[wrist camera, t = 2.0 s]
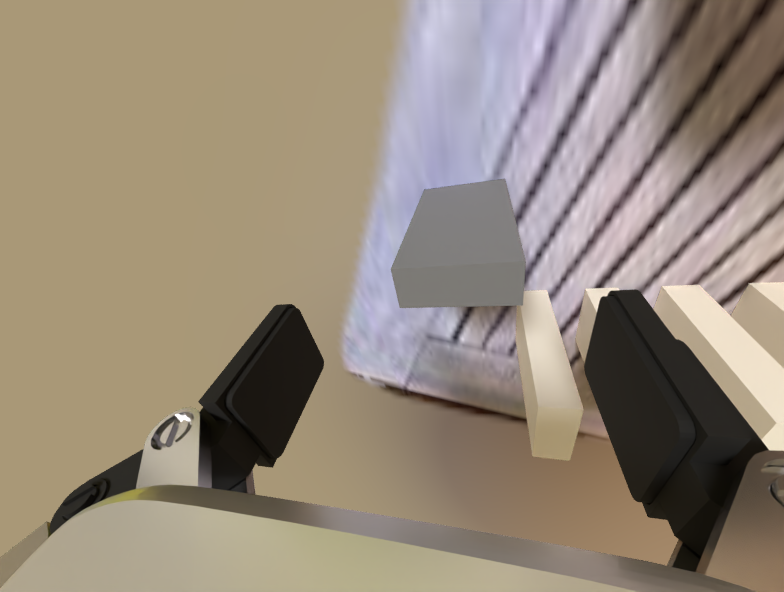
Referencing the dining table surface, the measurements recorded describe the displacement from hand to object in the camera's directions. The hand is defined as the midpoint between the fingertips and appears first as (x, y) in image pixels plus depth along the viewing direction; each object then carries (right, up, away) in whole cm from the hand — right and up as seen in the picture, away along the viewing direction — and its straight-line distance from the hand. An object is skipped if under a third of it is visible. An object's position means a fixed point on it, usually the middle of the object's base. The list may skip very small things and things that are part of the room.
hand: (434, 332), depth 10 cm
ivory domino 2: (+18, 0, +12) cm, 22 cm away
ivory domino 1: (+10, 0, +14) cm, 17 cm away
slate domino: (+3, +7, +10) cm, 13 cm away
